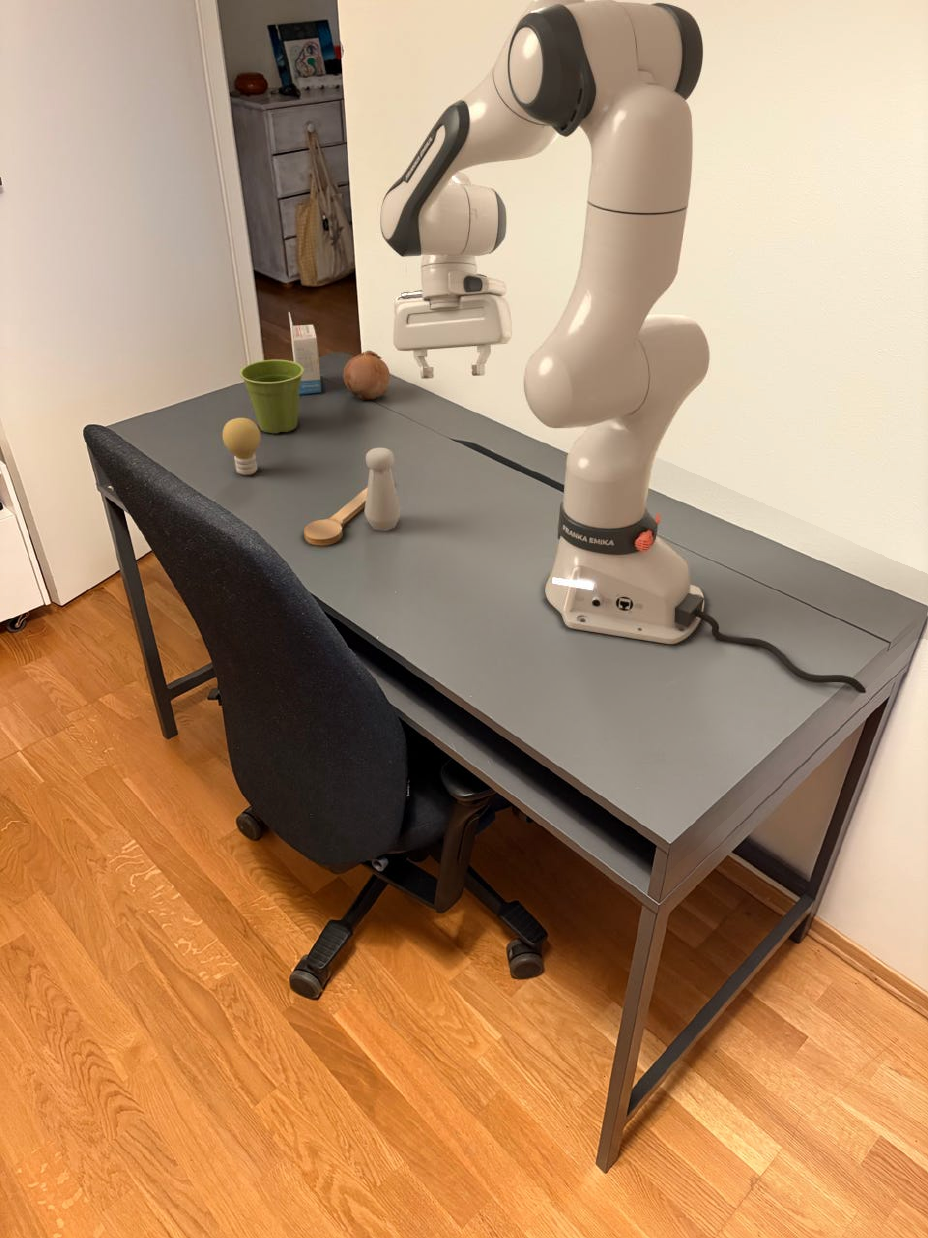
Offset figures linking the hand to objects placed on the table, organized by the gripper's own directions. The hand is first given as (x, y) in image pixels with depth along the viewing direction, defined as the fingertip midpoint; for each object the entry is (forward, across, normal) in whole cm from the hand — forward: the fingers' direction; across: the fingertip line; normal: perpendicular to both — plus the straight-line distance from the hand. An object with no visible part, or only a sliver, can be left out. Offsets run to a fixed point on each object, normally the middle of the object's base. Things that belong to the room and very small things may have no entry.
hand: (452, 377), depth 148 cm
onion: (+2, -35, +28) cm, 45 cm away
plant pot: (+7, -44, +9) cm, 45 cm away
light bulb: (+15, -38, -8) cm, 41 cm away
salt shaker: (+23, -8, -10) cm, 27 cm away
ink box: (-1, -49, +26) cm, 56 cm away
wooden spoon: (+21, -14, -10) cm, 28 cm away
